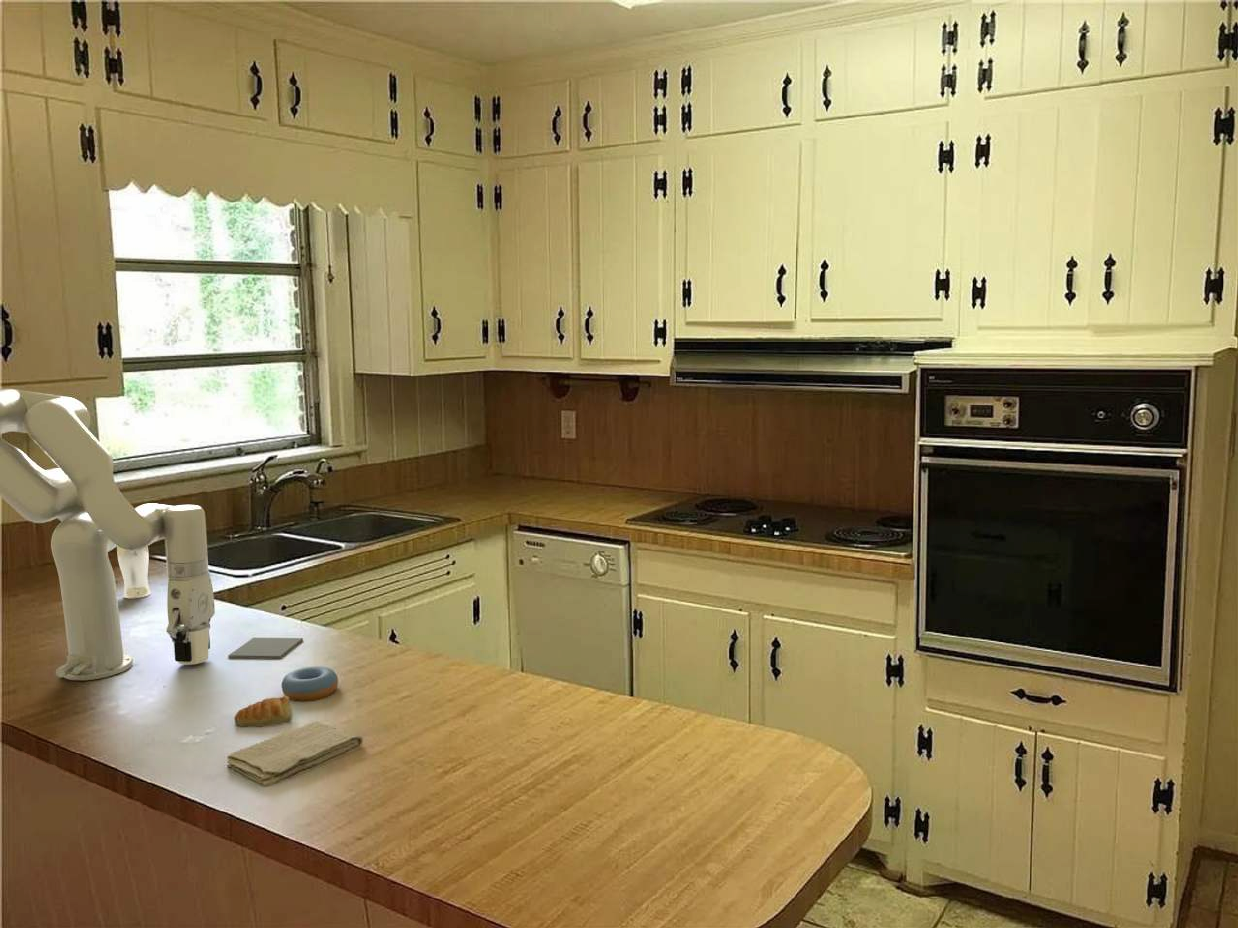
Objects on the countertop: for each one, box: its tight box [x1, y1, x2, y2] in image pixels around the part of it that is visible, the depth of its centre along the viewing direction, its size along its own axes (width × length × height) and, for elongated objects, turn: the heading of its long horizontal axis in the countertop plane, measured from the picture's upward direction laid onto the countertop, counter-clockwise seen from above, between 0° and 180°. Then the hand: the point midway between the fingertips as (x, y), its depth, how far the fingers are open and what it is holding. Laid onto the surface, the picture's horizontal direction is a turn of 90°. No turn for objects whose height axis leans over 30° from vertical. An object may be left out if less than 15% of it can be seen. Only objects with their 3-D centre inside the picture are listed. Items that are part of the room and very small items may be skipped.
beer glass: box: [116, 546, 152, 600], centre depth 252 cm, size 7×7×15 cm
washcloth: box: [226, 721, 364, 787], centre depth 159 cm, size 12×18×3 cm, turn 143°
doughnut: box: [281, 665, 339, 702], centre depth 186 cm, size 10×10×5 cm
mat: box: [228, 637, 304, 660], centre depth 210 cm, size 11×11×1 cm
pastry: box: [234, 695, 293, 728], centre depth 174 cm, size 9×7×4 cm
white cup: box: [177, 622, 210, 666], centre depth 202 cm, size 7×7×7 cm
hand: (192, 654), depth 202 cm, fingers closed on white cup, 6 cm apart
